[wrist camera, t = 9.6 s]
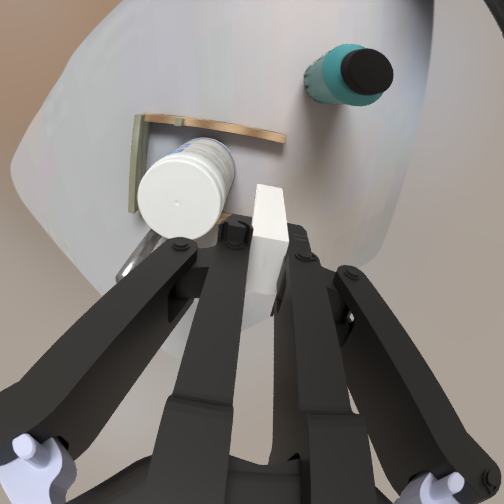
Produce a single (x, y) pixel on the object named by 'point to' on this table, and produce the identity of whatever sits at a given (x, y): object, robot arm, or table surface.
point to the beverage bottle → (349, 76)
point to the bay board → (144, 120)
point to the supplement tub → (187, 189)
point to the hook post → (139, 253)
